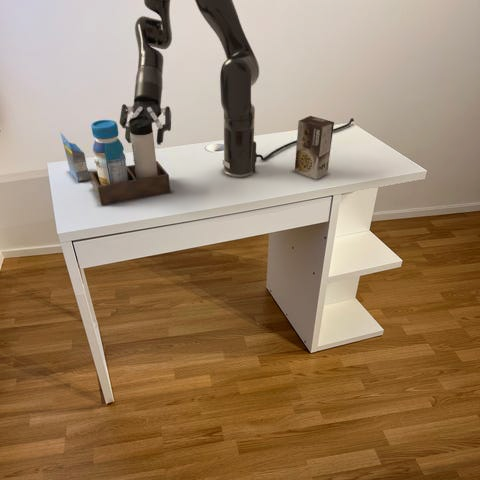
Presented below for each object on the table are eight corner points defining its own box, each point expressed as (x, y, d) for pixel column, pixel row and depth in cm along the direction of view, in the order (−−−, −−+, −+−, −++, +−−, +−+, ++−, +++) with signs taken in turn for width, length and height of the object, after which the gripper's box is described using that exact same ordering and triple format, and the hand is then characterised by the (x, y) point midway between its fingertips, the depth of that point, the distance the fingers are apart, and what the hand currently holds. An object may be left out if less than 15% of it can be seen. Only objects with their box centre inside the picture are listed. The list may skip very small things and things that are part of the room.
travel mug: (161, 183, 140) (154, 115, 127) (156, 193, 135) (148, 123, 122) (141, 182, 141) (132, 114, 127) (135, 192, 136) (125, 122, 122)
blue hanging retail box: (90, 179, 142) (82, 139, 134) (77, 182, 140) (68, 141, 132) (81, 169, 147) (72, 130, 139) (69, 172, 146) (59, 132, 138)
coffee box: (328, 174, 147) (335, 121, 137) (316, 180, 144) (323, 127, 133) (305, 165, 152) (310, 114, 141) (293, 171, 148) (298, 119, 138)
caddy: (159, 178, 143) (157, 160, 140) (170, 192, 136) (168, 174, 132) (93, 189, 137) (89, 171, 133) (101, 205, 129) (97, 187, 125)
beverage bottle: (127, 200, 131) (116, 129, 118) (98, 200, 131) (83, 128, 118) (133, 187, 138) (123, 118, 125) (105, 187, 138) (92, 118, 125)
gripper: (120, 79, 128) (114, 135, 127) (170, 81, 127) (165, 137, 126) (128, 94, 135) (123, 147, 134) (175, 96, 135) (171, 149, 133)
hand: (143, 142), depth 130 cm, fingers open, 8 cm apart
